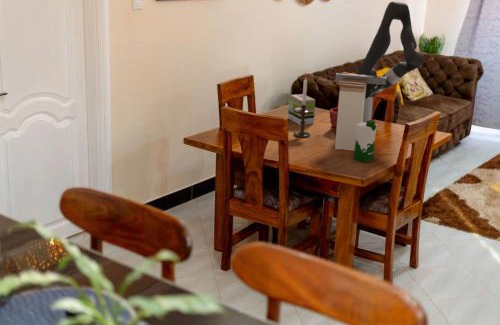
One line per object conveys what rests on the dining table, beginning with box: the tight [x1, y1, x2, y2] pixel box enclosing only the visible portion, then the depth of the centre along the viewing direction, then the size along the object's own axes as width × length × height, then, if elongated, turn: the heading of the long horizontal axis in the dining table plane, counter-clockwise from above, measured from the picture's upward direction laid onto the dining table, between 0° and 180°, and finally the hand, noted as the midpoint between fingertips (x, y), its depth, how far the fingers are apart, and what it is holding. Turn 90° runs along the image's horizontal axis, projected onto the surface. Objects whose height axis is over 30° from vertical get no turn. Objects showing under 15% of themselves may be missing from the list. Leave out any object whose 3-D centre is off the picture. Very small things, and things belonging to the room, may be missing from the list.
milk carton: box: [353, 119, 378, 164], centre depth 332 cm, size 9×9×20 cm
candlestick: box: [293, 72, 314, 139], centre depth 366 cm, size 11×11×35 cm
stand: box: [334, 79, 366, 151], centre depth 355 cm, size 12×24×34 cm, turn 168°
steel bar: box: [334, 72, 386, 85], centre depth 355 cm, size 26×4×4 cm, turn 78°
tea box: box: [287, 93, 316, 126], centre depth 397 cm, size 15×10×15 cm
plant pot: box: [329, 107, 338, 132], centre depth 383 cm, size 13×13×12 cm
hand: (368, 96), depth 369 cm, fingers open, 8 cm apart
